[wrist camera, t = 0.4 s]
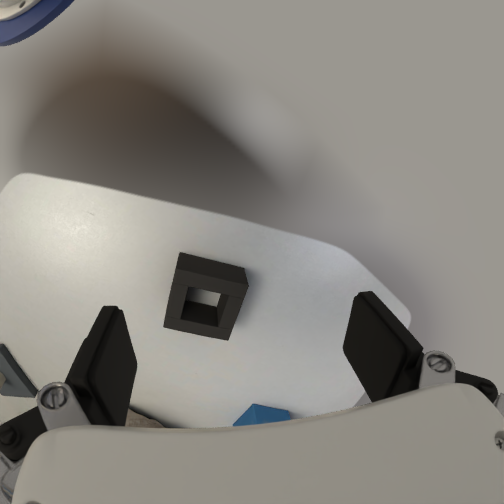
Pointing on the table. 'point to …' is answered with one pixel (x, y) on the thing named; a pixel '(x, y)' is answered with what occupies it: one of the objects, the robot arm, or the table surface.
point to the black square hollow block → (211, 279)
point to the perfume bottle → (262, 416)
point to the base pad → (13, 377)
